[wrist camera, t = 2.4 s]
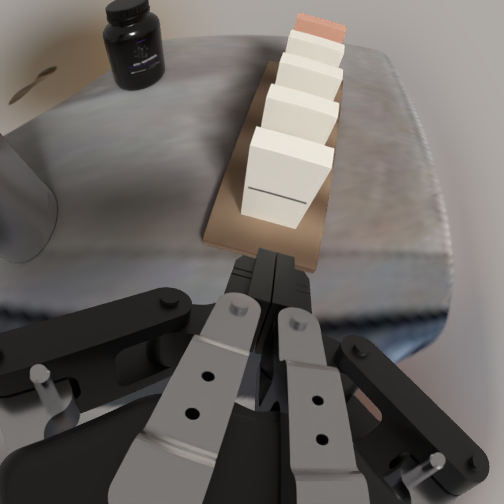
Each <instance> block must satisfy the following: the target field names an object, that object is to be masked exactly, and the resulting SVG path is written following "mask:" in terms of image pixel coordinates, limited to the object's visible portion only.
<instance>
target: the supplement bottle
mask: <svg viewBox="0 0 504 504" xmlns="http://www.w3.org/2000/svg"><path fill="white" fill-rule="evenodd" d="M149 11H150V6H149V2H148V0H115V1H113V2H111V3H110V4H109V5H108V6H107V7H106V14H107V21H108V23H109V24H108V25H107V26H106V27H105V29H104V32H103V39H104V44H105V47H106V51H107V55H108V58H109V62H110V65H111V69H112V72H113V75H114V78H115V81H116V84H117V85H118V86H119V87H120V88H122V89H125V90H140V89H144V88H147V87H149V86H151V85H153V84H155V83H156V82H157V81H159V80H160V79H161V77H162V76H163V74H164V72H165V63H164V55H163V47H162V38H161V29H160V22H159V19H158V17H157V16H156V15H155V14H153V13H151V12H149Z"/></svg>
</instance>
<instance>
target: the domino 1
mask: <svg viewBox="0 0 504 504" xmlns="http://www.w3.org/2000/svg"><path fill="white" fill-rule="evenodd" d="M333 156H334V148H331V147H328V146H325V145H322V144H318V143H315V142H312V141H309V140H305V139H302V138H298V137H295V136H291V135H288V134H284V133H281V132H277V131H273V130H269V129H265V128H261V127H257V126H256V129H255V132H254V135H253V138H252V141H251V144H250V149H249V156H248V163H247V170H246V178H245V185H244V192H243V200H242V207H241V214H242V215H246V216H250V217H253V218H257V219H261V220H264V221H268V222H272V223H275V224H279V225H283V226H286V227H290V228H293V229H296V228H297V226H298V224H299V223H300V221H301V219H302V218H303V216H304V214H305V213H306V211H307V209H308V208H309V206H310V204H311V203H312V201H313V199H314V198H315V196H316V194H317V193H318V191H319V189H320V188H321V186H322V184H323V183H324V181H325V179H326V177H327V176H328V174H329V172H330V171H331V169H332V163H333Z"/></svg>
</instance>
